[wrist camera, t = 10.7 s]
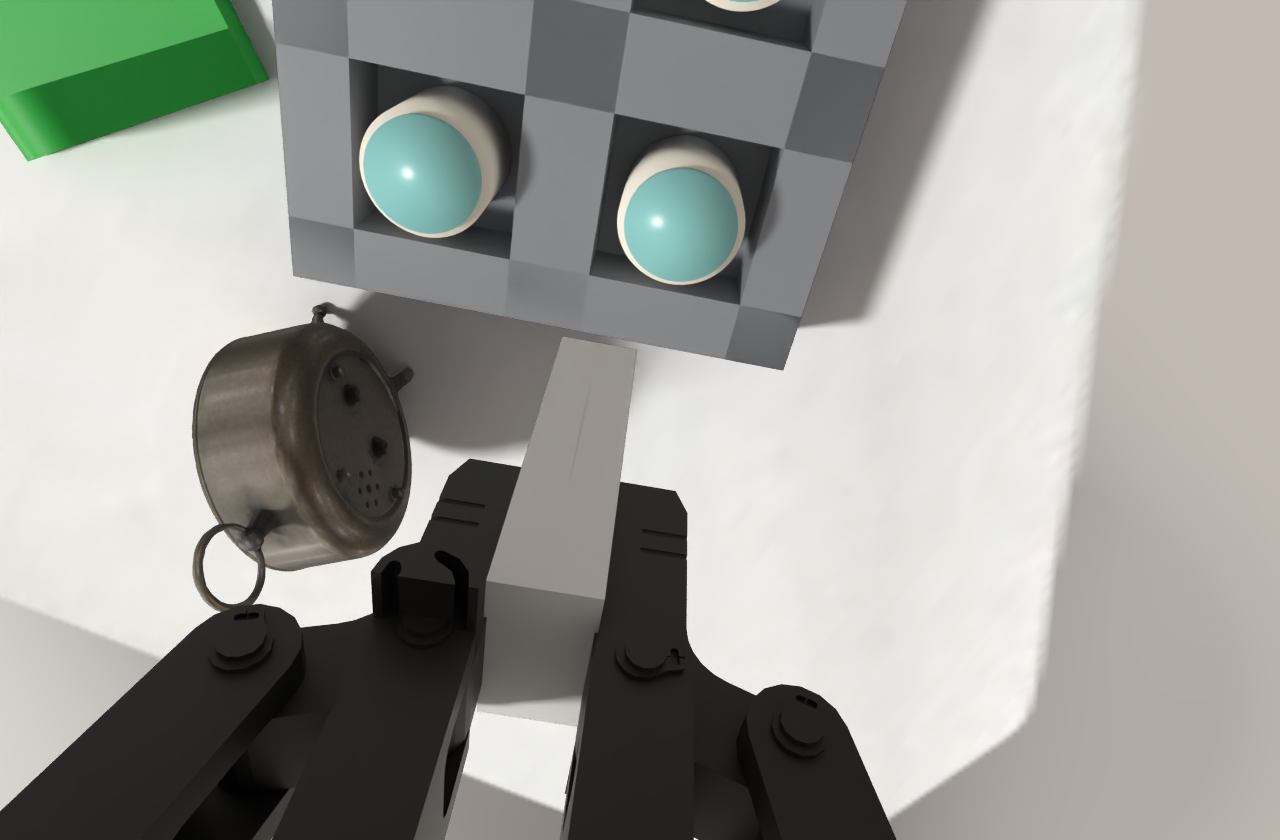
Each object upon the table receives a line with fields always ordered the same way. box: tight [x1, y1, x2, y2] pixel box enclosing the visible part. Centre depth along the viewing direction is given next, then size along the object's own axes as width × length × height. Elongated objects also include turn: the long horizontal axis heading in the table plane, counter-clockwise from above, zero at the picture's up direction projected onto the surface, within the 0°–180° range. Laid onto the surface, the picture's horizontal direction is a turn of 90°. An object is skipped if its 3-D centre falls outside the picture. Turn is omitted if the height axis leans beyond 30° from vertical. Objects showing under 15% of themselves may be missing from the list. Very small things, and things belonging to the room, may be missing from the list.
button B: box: [617, 135, 745, 285], centre depth 31 cm, size 5×5×4 cm
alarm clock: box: [192, 305, 413, 612], centre depth 33 cm, size 11×5×16 cm, turn 13°
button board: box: [272, 0, 907, 370], centre depth 29 cm, size 22×22×4 cm
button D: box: [359, 86, 511, 238], centre depth 30 cm, size 5×5×4 cm
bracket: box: [0, 0, 269, 161], centre depth 29 cm, size 12×8×7 cm, turn 106°
